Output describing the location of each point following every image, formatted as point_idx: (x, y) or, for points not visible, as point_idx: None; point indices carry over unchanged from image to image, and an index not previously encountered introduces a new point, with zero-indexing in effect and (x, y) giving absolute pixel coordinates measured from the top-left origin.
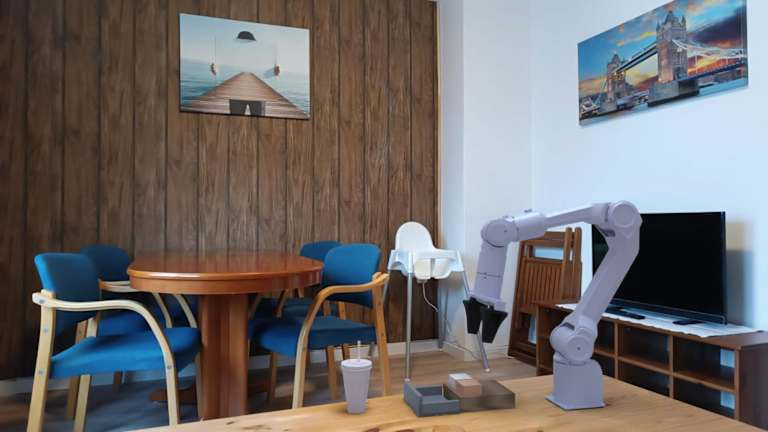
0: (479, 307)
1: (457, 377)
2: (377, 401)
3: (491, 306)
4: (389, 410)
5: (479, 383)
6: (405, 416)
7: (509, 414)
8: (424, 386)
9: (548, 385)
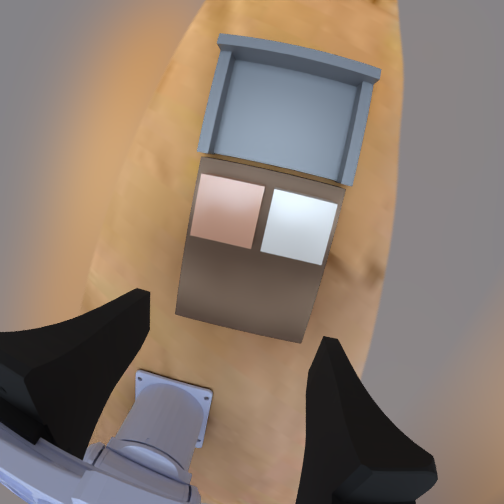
0: (312, 494)
1: (293, 211)
2: (376, 24)
3: (5, 418)
4: (303, 15)
5: (204, 236)
6: (248, 28)
7: (155, 260)
8: (360, 132)
9: (281, 441)
